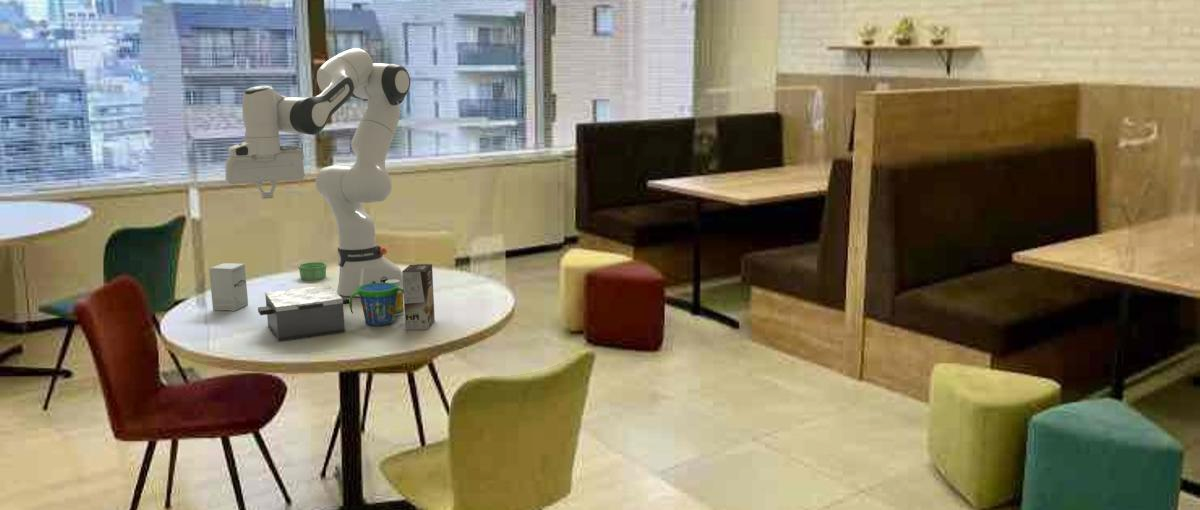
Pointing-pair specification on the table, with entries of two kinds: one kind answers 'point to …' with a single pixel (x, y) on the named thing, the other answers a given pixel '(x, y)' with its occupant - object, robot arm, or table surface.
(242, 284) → the supplement box
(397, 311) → the supplement bottle
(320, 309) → the cooker pot
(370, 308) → the snack cup
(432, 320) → the coffee box
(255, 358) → the table surface
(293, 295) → the lid
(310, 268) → the ramekin
